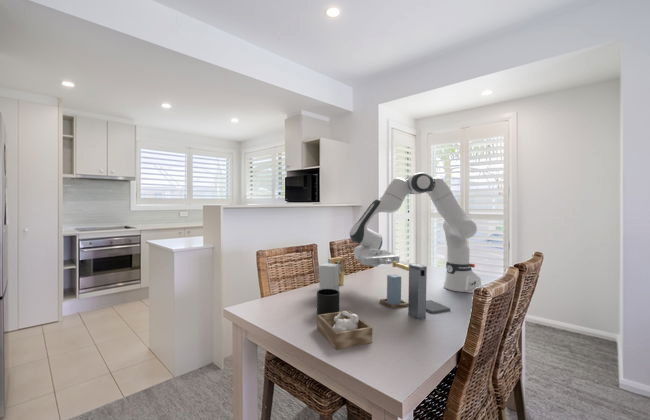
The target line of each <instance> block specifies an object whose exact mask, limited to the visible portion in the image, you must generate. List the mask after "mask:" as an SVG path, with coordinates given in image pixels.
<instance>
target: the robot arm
mask: <svg viewBox="0 0 650 420" xmlns="http://www.w3.org/2000/svg"><path fill="white" fill-rule="evenodd" d="M424 193H426V194H427V195H428V196H429V197H430V200H431V201H432V203H433V205H434V207H435V208H436V210H437V212H438V214H439V215H440V216H441V217H442V218H443V223H442V227H443V231H444V234H445V242H446V247H447V251H446V253H447V254H446V255H447V257H446V258H447V259H446V264H445V268H446V271H445V278H444V279H445V280H444V282H443V285H442V286H443V289H447V290H449V291H453V292H461V293H462V292H463V293H470V294H473V293H474V292H473V290H474V289H475V288H476V287H479V286H484V285H483V284H482V280H481V277H480V276H479V275H478V274H477V273H476V272H474V271H473V270H472V269H473V268H475V267H476V265H475V263H470V247H469V245H468V240H467V239H470V238H472V237H474V236H475V235H476V233H477V230H478V229H477V228H478V227H477V224H476V222H475V221H474V220H472V219H471V218H470V217H469V216H468V214H467V212H466V211H465V210H464V209H463V208H462V207H461V205H460V204H459V202H458V200H457V198H456V197H455V195H454V193H453V192H452V190H451V189H450V187H449V185H448V184H447V182H446V181H445V180H444V179H443V178H442V177H440V176H434V177H432V176H431V175H429V174H428V173H426V172H417V173H413V174H412V175H409V176H408V177H407V178H402V177H395V178H393V180H391V182H390V183H389V184H388V186H387V187H386V189H385V191H384V192H383V195H382V196H381V197H380V198H379V199H374V200H373V201H372V203H370V205H369V206H368V208H367V209H366V210H365V211H364V213H363V214H362V216H361V217H360V219H359V220H358V221H357V222H356V223H355V224H354V225H353V226H352V228H351V229H350V230H349V237H350V239H351V242H353V243H355V244H359V245H357V246H356V247H355V248H354V249H353V256H354V258H355V259H356V260H357V261H359V263H360V264H361V265H363V266H371V267H378V266H381V265H391V264H393V262H394V261H398V263H400V255H399V254H397V253H394V252H391V251H389V250H385V249H382V246H383V237H382V235H381V234H380V233H379V232H376V230H372V229H371V228H369V227H367V226H368V224H369V223H370V222H371V221H372V219H373V218H374V217H375V215H376V214H379V213H387V214H388V213H389V214H391V213H395V212H397V211H398V210H399V209H400V208H401V206H402V205H403V202H404V201H405V199H406V197H407V195H408V194H409V195H421V194H424Z"/></svg>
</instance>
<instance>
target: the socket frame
mask: <svg viewBox="0 0 650 420" xmlns="http://www.w3.org/2000/svg"><path fill="white" fill-rule="evenodd" d="M379 303H381V304H382V305H384V306H386V307H388V308H389V309H391V310H392V309H398V308H404V307H405V308H406V307H408V302H407V301H405V300H403V299H401V304H397V305H390V304H388V303H387V297H386V298H381V299H379Z"/></svg>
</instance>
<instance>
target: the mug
mask: <svg viewBox="0 0 650 420" xmlns="http://www.w3.org/2000/svg"><path fill="white" fill-rule="evenodd" d="M340 295H341V294H340V290H339V291H337V290H334V289H322V290H320V289H319V290H317V292H316V314H317V315H321V314H328V313H335V312H340V299H341V298H340Z"/></svg>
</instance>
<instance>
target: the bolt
mask: <svg viewBox="0 0 650 420" xmlns="http://www.w3.org/2000/svg"><path fill="white" fill-rule="evenodd" d="M392 267H393V268H398V269H402V270H404V271H407V272H409V265H406V264H404V263H400V262H399V263H398V261H394V262H393V263H392Z"/></svg>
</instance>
